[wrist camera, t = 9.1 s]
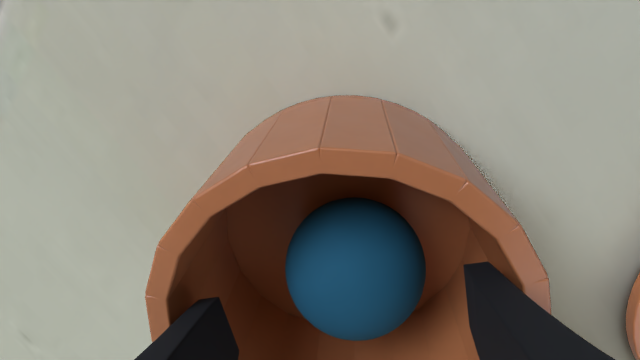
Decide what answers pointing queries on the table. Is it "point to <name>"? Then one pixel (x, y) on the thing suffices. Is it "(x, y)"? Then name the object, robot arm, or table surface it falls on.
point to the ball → (355, 269)
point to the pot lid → (634, 319)
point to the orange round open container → (318, 189)
